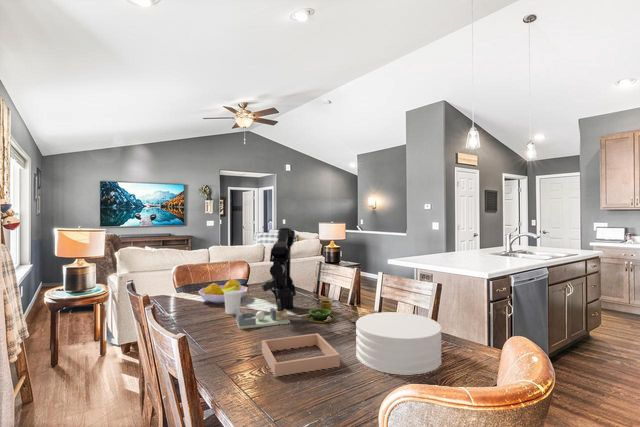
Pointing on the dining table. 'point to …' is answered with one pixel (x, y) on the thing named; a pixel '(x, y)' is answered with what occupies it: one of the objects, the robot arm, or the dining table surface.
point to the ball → (260, 315)
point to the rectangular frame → (299, 365)
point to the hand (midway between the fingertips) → (280, 307)
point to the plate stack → (398, 343)
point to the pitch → (256, 320)
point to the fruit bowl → (221, 291)
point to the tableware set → (322, 313)
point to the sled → (278, 312)
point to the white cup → (232, 301)
